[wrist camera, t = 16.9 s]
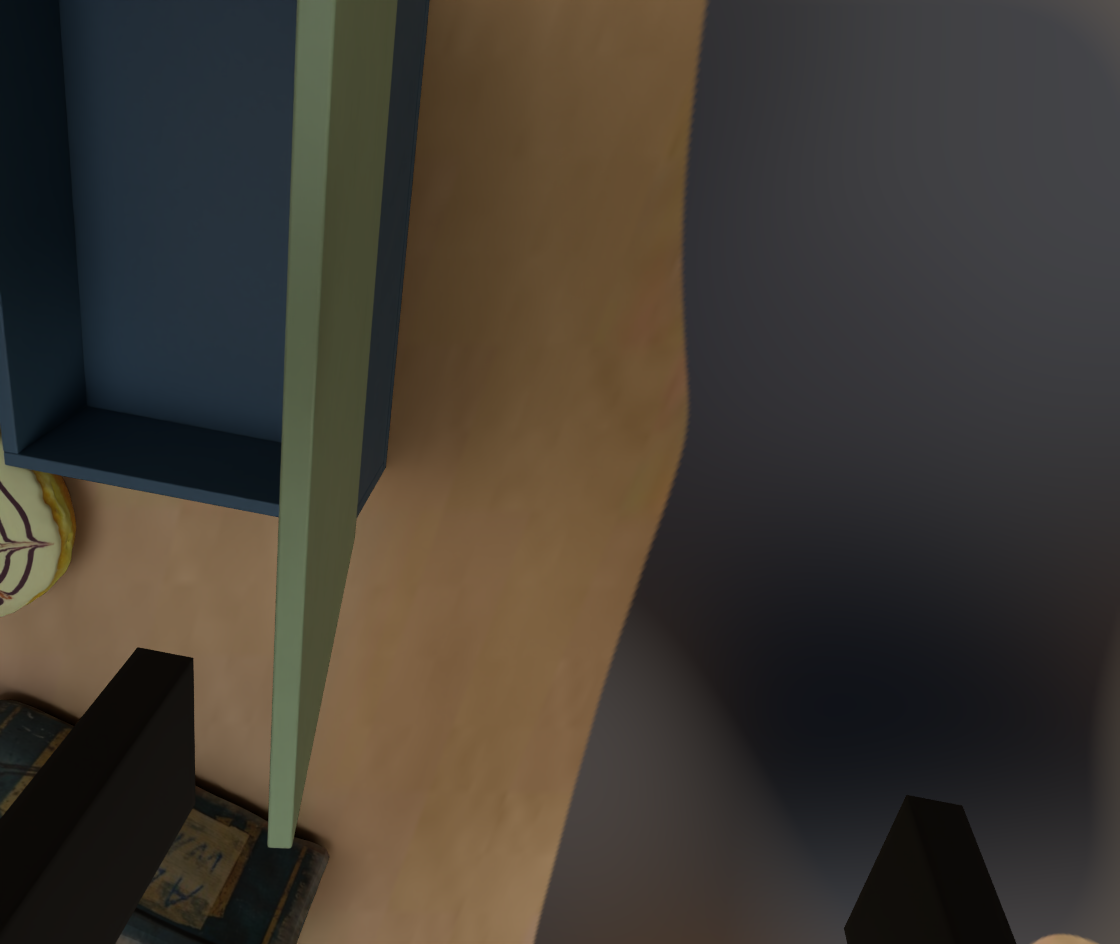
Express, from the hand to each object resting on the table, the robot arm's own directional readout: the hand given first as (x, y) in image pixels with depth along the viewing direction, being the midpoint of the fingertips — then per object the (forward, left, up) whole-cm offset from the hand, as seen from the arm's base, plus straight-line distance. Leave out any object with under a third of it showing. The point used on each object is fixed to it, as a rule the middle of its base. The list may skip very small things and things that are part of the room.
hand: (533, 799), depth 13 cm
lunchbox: (0, -15, -27) cm, 31 cm away
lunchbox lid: (0, -7, -13) cm, 15 cm away
